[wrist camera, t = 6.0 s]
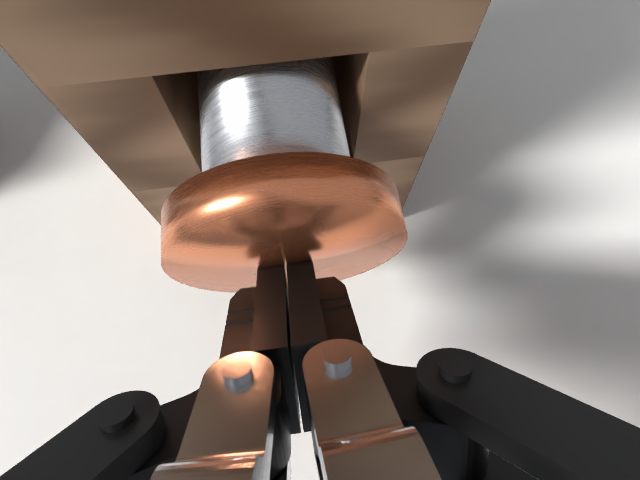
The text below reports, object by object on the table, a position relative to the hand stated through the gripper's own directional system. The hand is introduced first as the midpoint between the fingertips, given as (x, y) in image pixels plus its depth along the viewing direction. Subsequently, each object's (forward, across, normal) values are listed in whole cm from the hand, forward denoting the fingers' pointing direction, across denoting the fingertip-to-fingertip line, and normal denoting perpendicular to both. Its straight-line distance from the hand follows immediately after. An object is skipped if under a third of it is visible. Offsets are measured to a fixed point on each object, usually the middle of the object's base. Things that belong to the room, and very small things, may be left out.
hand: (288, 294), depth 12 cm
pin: (+6, 0, -4) cm, 7 cm away
